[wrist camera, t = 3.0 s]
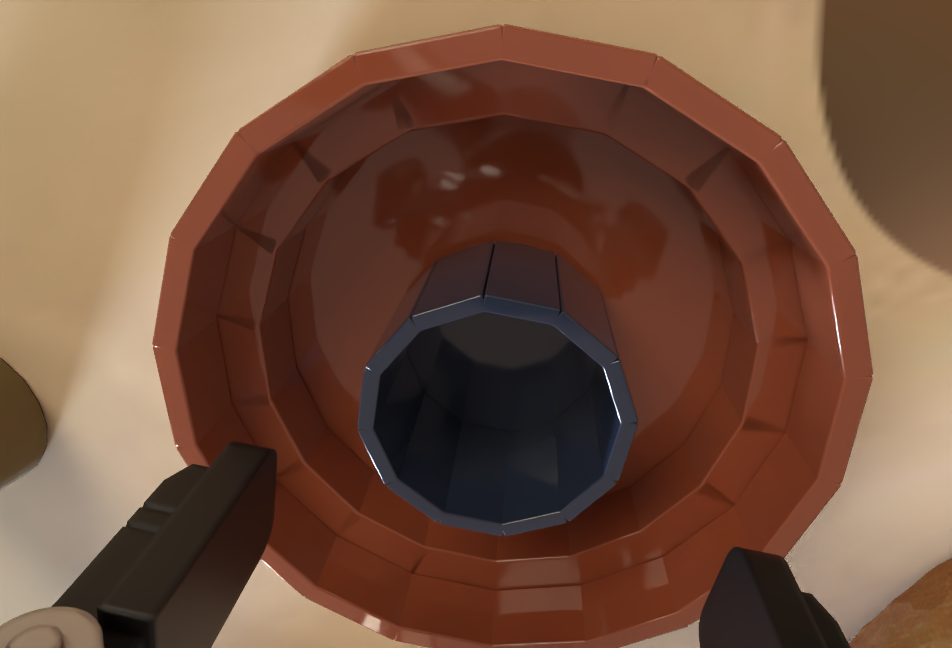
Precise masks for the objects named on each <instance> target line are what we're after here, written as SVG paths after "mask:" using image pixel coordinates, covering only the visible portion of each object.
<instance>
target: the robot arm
mask: <svg viewBox="0 0 952 648" xmlns="http://www.w3.org/2000/svg"><path fill="white" fill-rule="evenodd" d="M276 474H277V452H276V450H275V449H271V448H266V447H261V446H256V445H251V444H247V443H242V442H237V441H231V442H230V443H228V444H227V446H226V447H225V448H224V449H223V450H222V452H221V453H220V454H219V455H218V457H217V458H216V459H215V460H214V462H213V463H212V464H211V465H210V467H206V466H201V465H197V464H191V465H190V466H188V467H186V468H185V469H183V470H181V471H179V472H178V473H176V474H174V475H172V476H171V477H169V478H167V479H165V480H164V481H163V482H162V483H161V484H160V485H159V487H158V488H157V489H156V490H155V491H154V492H153V493H152V494H151V496H150V497H149V498H148V499H147V500H146V501H145V502H144V505H143V507H142V508H139V509H138V510H137V511H136V512H135V514H134V515H133V516H132V517H131V518H130V519H129V520H128V522H127V525H126V527H122V528H121V529H120V531H119V532H118V533H117V534H116V535H115V536H114V537H113V538H112V540H111V541H110V542H109V543H108V544H107V545H106V546H105V548H104V549H103V550H102V551H101V552H100V553H99V554H98V555H97V557H96V558H95V559H94V560H93V561H92V562H91V563H90V564H89V566H88V567H87V568H86V569H85V570H84V571H83V572H82V573H81V575H80V576H79V577H78V578H77V579H76V580H75V581H74V583H73V584H72V585H71V586H70V587H69V588H68V589H67V590H66V592H65V593H64V594H63V595H62V596H61V597H60V598H59V599H58V600H57V601H56V603H55V604H54V605H53V606H52V607H48V608H43V609H38V610H34V611H31V612H28V613H25V614H23V615H20V616H18V617H16V618H13V619H11V620H10V621H8V622H6V623H4V624H3V625H1V626H0V648H211V647H212V645H213V643H214V641H215V639H216V638H217V636H218V634H219V632H220V630H221V629H222V627H223V625H224V623H225V621H226V620H227V618H228V616H229V614H230V612H231V611H232V609H233V607H234V605H235V603H236V602H237V600H238V598H239V596H240V594H241V593H242V591H243V589H244V587H245V585H246V584H247V582H248V580H249V578H250V576H251V575H252V573H253V571H254V569H255V567H256V566H257V564H258V562H259V560H260V558H261V557H262V555H263V553H264V551H265V549H266V546H267V544H268V541H269V538H270V534H271V531H272V527H273V521H274V510H275V492H276ZM699 641H700V647H701V648H850V646H849V644H848V642H847V640H846V638H845V636H844V634H843V632H842V630H841V628H840V627H839V625H838V623H837V622H836V621H835V619H834V618H833V617H832V616H831V615H830V614H829V613H828V612H827V611H826V609H825V608H824V607H823V606H822V605H821V604H820V603H819V602H818V601H817V600H816V598H815V597H814V596H813V595H812V594H809V593H804V592H801V591H800V588H799V586H798V584H797V582H796V580H795V578H794V576H793V574H792V572H791V570H790V568H789V566H788V564H787V562H786V561H785V559H784V558H783V557H781V556H779V555H775V554H770V553H766V552H761V551H756V550H751V549H746V548H741V547H733V548H732V549H731V550H730V551H729V552H728V554H727V556H726V558H725V560H724V562H723V565H722V567H721V569H720V571H719V573H718V576H717V578H716V580H715V582H714V584H713V587H712V589H711V591H710V593H709V595H708V597H707V600H706V602H705V604H704V606H703V609H702V612H701V616H700V622H699Z"/></svg>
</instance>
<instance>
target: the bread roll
mask: <svg viewBox="0 0 952 648" xmlns="http://www.w3.org/2000/svg"><path fill="white" fill-rule="evenodd" d="M849 646H850V648H952V558H951V559H949V560H947V561H945V562H943V563H942V564H940V565H938V566H936V567H935V568H933V569H932V570H931V571H929V572H928V573H926V574H925V575H924V576H923V577H922V578H921V579H920V580H918V581H917V582H916V583H915V584H914V585H913V586H912V587H910V588H909V589H908V590H907V591H905V592H904V593H902V594H901V595H900V596H898V597H897V598H896V599H894V600H893V601H892V602H891V603H890V604H889V605H888V606H887V607H886V608H885V610H884V611H882V612H881V613H880V614H879V615H878V616H877V617H876V618H875V619H873V620H872V621H871V622H870V623H868V624H867V625H866V626H864V627H863V628H862V630H861V631H860V632H859V633H858V635H857V636H856V637H855V638H854V639H853V640H852V641H851V642H850V643H849Z"/></svg>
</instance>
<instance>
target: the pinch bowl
mask: <svg viewBox="0 0 952 648" xmlns="http://www.w3.org/2000/svg"><path fill="white" fill-rule="evenodd" d="M637 427H638V417H637V413H636V410H635V406H634V403H633V399H632V396H631V392H630V388H629V385H628V381H627V378H626V374H625V371H624V367H623V364H622V360H621V357H620V353H619V349H618V346H617V342H616V339H615V336H614V332H613V329H612V326H611V322H610V319H609V316H608V312H607V309H606V306H605V302H604V299H603V296H602V294H601V293H600V290H599V289H598V288H597V287H595V286H594V285H593V284H592V283H591V282H590V281H589V280H587V279H586V278H585V277H584V276H583V275H582V274H581V273H579V272H578V271H577V270H576V269H575V268H574V267H573V266H571V265H570V264H569V263H568V262H567V261H566V260H564V259H563V258H562V257H561V256H560V255H559V254H555V253H554V252H553V251H548V250H543V249H540V248H536V247H532V246H529V245H525V244H518V243H507V242H502V241H496V242H495V243H494V241H490V242H487V243H484V244H481V245H477V246H473V247H469V248H466V249H464V250H461V251H459V252H456V253H453V254H450V255H447V256H444V257H441V258H439V259H438V261H437V260H436V261H434V263H433V264H432V265H431V266H430V267H429V268H428V269H427V271H426V272H425V273H424V274H423V275H422V276H421V278H420V279H419V280H418V281H417V282H416V283H415V284H414V286H413V287H412V288H411V289H410V290H409V291H408V293H407V294H406V295H405V296H404V297H403V298H402V300H401V301H400V303H399V305H398V307H397V309H396V311H395V313H394V314H393V316H392V318H391V320H390V322H389V324H388V325H387V327H386V329H385V331H384V333H383V335H382V337H381V338H380V340H379V342H378V344H377V346H376V348H375V349H374V351H373V353H372V355H371V357H370V359H369V361H368V362H367V364H366V367H365V369H364V373H363V381H362V389H361V398H360V406H359V415H358V423H357V428H358V429H359V430H358V433H359V435H360V437H361V439H362V441H363V443H364V445H365V447H366V449H367V451H368V453H369V455H370V457H371V459H372V461H373V463H374V465H375V467H376V469H377V471H378V473H379V475H380V477H381V479H382V481H383V483H384V484H387V488H389V489H390V490H392V491H393V492H394V493H396V494H397V495H399V496H400V497H401V498H403V499H404V500H406V501H407V502H408V503H410V504H411V505H412V506H414V507H415V508H417V509H418V510H419V511H421V512H422V513H424V514H425V515H426V516H428V517H429V518H431V519H432V520H433V521H435V522H438V521H439V520H440V521H439V523H440V524H442V525H447V526H452V527H457V528H462V529H467V530H472V531H476V532H481V533H486V534H491V535H496V536H502V535H503V533H504V535H505V536H510V535H515V534H520V533H524V532H529V531H533V530H538V529H543V528H547V527H552V526H556V525H561V524H566V523H567V520H568V521H572V520H573V519H574V518H575V517H576V516H578V515H579V514H580V513H581V512H583V511H584V510H585V509H586V508H588V507H589V506H590V505H591V504H593V503H594V502H595V501H596V500H597V499H599V498H600V497H601V496H602V495H604V494H605V493H606V492H607V491H609V490H610V489H611V488H612V487H614V486H615V485H616V484H617V481H619V480H620V477H621V474H622V471H623V468H624V465H625V462H626V459H627V456H628V453H629V451H630V448H631V445H632V442H633V439H634V436H635V433H636V430H637Z"/></svg>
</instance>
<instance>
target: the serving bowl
mask: <svg viewBox="0 0 952 648" xmlns="http://www.w3.org/2000/svg"><path fill="white" fill-rule="evenodd" d="M490 241H494V243H495V242H496V241H502V242H507V243H518V244H525V245H529V246H532V247H536V248H540V249H543V250H548V251H553V252H554V253H555V254H559V255H560V256H561V257H562V258H563V259H564V260H566V261H567V262H568V263H569V264H570V265H571V266H573V267H574V268H575V269H576V270H577V271H578V272H579V273H581V274H582V275H583V276H584V277H585V278H586V279H587V280H589V281H590V282H591V283H592V284H593V285H594V286H595V287H597V288H598V289H599V290H600V293H601V294H602V296H603V299H604V302H605V306H606V309H607V312H608V316H609V319H610V322H611V326H612V329H613V332H614V336H615V339H616V342H617V346H618V349H619V353H620V357H621V360H622V364H623V367H624V371H625V374H626V378H627V381H628V385H629V388H630V392H631V396H632V399H633V403H634V406H635V410H636V413H637V417H638V427H637V430H636V433H635V436H634V439H633V442H632V445H631V448H630V451H629V453H628V456H627V459H626V462H625V465H624V468H623V471H622V474H621V477H620V480H619V481H617V484H616V485H615V486H614V487H612V488H611V489H610V490H609V491H607V492H606V493H605V494H604V495H602V496H601V497H600V498H599V499H597V500H596V501H595V502H594V503H593V504H591V505H590V506H589V507H588V508H586V509H585V510H584V511H583V512H581V513H580V514H579V515H578V516H576V517H575V518H574V519H573V520H572V521H568V520H567V523H566V524H561V525H556V526H552V527H547V528H543V529H538V530H533V531H529V532H524V533H520V534H515V535H510V536H505V535H504V533H503V535H502V536H496V535H491V534H486V533H481V532H476V531H472V530H467V529H462V528H457V527H452V526H447V525H442V524H440V523H439V521H440V520H439V521H438V522H435V521H433V520H432V519H431V518H429V517H428V516H426V515H425V514H424V513H422V512H421V511H419V510H418V509H417V508H415V507H414V506H412V505H411V504H410V503H408V502H407V501H406V500H404V499H403V498H401V497H400V496H399V495H397V494H396V493H394V492H393V491H392V490H390V489H389V488H387V484H384V483H383V481H382V479H381V477H380V475H379V473H378V471H377V469H376V467H375V465H374V463H373V461H372V459H371V457H370V455H369V453H368V451H367V449H366V447H365V445H364V443H363V441H362V439H361V437H360V435H359V433H358V430H359V429H358V428H357V423H358V415H359V406H360V398H361V389H362V381H363V373H364V369H365V367H366V364H367V362H368V361H369V359H370V357H371V355H372V353H373V351H374V349H375V348H376V346H377V344H378V342H379V340H380V338H381V337H382V335H383V333H384V331H385V329H386V327H387V325H388V324H389V322H390V320H391V318H392V316H393V314H394V313H395V311H396V309H397V307H398V305H399V303H400V301H401V300H402V298H403V297H404V296H405V295H406V294H407V293H408V291H409V290H410V289H411V288H412V287H413V286H414V284H415V283H416V282H417V281H418V280H419V279H420V278H421V276H422V275H423V274H424V273H425V272H426V271H427V269H428V268H429V267H430V266H431V265H432V264H433V263H434V261H436V260H437V261H438V259H439V258H441V257H444V256H447V255H450V254H453V253H456V252H459V251H461V250H464V249H466V248H469V247H473V246H477V245H481V244H484V243H487V242H490ZM855 254H856V253H855V250H854V248H853V246H852V245H851V243H850V242H849V240H848V239H847V237H846V235H845V234H844V232H843V231H842V229H841V228H840V226H839V224H838V223H837V221H836V220H835V218H834V217H833V215H832V213H831V212H830V210H829V209H828V207H827V206H826V204H825V202H824V201H823V199H822V198H821V196H820V195H819V193H818V191H817V190H816V188H815V187H814V185H813V184H812V182H811V180H810V179H809V177H808V176H807V174H806V173H805V171H804V169H803V168H802V166H801V165H800V163H799V162H798V160H797V158H796V157H795V155H794V154H793V152H792V150H791V149H790V147H789V146H788V144H787V143H786V141H784V140H782V138H781V136H780V135H778V134H777V133H775V132H774V131H772V130H771V129H769V128H768V127H766V126H765V125H763V124H762V123H760V122H759V121H757V120H756V119H754V118H753V117H751V116H750V115H748V114H747V113H745V112H744V111H742V110H741V109H739V108H738V107H736V106H735V105H733V104H732V103H730V102H729V101H727V100H726V99H724V98H723V97H721V96H720V95H718V94H717V93H715V92H714V91H712V90H711V89H709V88H708V87H706V86H705V85H703V84H702V83H700V82H699V81H697V80H696V79H694V78H693V77H691V76H690V75H688V74H687V73H685V72H684V71H682V70H681V69H679V68H678V67H676V66H675V65H673V64H672V63H670V62H669V61H667V60H666V59H664V58H663V57H661V56H657V55H656V54H655V53H650V52H644V51H639V50H634V49H629V48H624V47H619V46H614V45H609V44H604V43H599V42H594V41H589V40H583V39H578V38H573V37H568V36H563V35H558V34H553V33H548V32H543V31H538V30H533V29H527V28H522V27H517V26H512V25H507V24H505V25H503V26H502V25H494V26H489V27H484V28H479V29H473V30H468V31H463V32H458V33H453V34H448V35H443V36H438V37H432V38H427V39H422V40H417V41H412V42H407V43H402V44H397V45H391V46H386V47H381V48H376V49H371V50H366V51H361V52H356V53H355V54H354V55H349V56H348V57H346V58H345V59H343V60H342V61H340V62H339V63H337V64H336V65H334V66H333V67H331V68H330V69H328V70H327V71H325V72H324V73H322V74H321V75H319V76H318V77H316V78H315V79H313V80H312V81H310V82H309V83H307V84H306V85H304V86H303V87H301V88H300V89H298V90H297V91H295V92H294V93H292V94H291V95H289V96H288V97H286V98H285V99H283V100H282V101H280V102H279V103H277V104H276V105H274V106H273V107H271V108H270V109H268V110H267V111H265V112H264V113H262V114H261V115H259V116H258V117H256V118H255V119H253V120H252V121H250V122H249V123H247V124H246V125H244V126H243V127H241V128H240V129H239V131H238V132H236V133H235V134H234V135H233V137H232V139H231V140H230V142H229V143H228V145H227V146H226V148H225V150H224V151H223V153H222V154H221V156H220V157H219V159H218V160H217V162H216V164H215V165H214V167H213V168H212V170H211V171H210V173H209V175H208V176H207V178H206V179H205V181H204V182H203V184H202V185H201V187H200V189H199V190H198V192H197V193H196V195H195V196H194V198H193V200H192V201H191V203H190V204H189V206H188V207H187V209H186V210H185V212H184V214H183V215H182V217H181V218H180V220H179V221H178V223H177V224H176V226H175V228H174V229H173V231H172V232H171V236H170V238H169V244H168V250H167V256H166V263H165V269H164V275H163V281H162V288H161V294H160V300H159V306H158V313H157V319H156V325H155V331H154V338H153V345H154V346H153V350H154V354H155V359H156V363H157V367H158V372H159V376H160V381H161V385H162V389H163V394H164V398H165V402H166V407H167V411H168V416H169V420H170V424H171V429H172V433H173V438H174V442H175V445H176V446H177V450H178V452H179V453H180V455H181V456H182V458H183V460H184V461H185V463H186V464H187V466H190V465H191V464H197V465H201V466H206V467H210V465H211V464H212V463H213V462H214V460H215V459H216V458H217V457H218V455H219V454H220V453H221V452H222V450H223V449H224V448H225V447H226V446H227V444H228V443H230V442H231V441H237V442H242V443H247V444H251V445H256V446H261V447H266V448H271V449H275V450H276V452H277V474H276V492H275V510H274V521H273V527H272V531H271V534H270V538H269V541H268V544H267V546H266V549H265V551H264V553H263V555H262V557H261V558H260V559H261V560H262V561H263V562H264V563H265V564H266V565H268V566H269V567H270V568H271V569H272V570H273V571H274V572H276V573H277V574H278V575H279V576H280V577H281V578H283V579H284V580H285V581H286V582H287V583H288V584H290V585H291V586H292V587H293V588H294V589H295V590H296V591H298V592H299V593H300V594H301V595H302V596H305V598H306V599H309V600H311V601H313V602H315V603H317V604H319V605H321V606H323V607H325V608H327V609H329V610H331V611H333V612H336V613H338V614H340V615H342V616H344V617H346V618H348V619H350V620H352V621H354V622H356V623H358V624H360V625H363V626H365V627H367V628H369V629H371V630H373V631H375V632H377V633H379V634H381V635H383V636H385V637H387V638H389V639H392V640H393V639H395V640H396V641H400V642H404V643H409V644H414V645H419V646H424V647H429V648H620V647H623V646H626V645H629V644H633V643H636V642H639V641H642V640H646V639H649V638H652V637H655V636H659V635H662V634H665V633H668V632H672V631H675V630H678V629H681V628H685V627H687V626H688V625H691V624H692V623H694V622H695V621H697V620H698V619H700V616H701V612H702V609H703V606H704V604H705V602H706V600H707V597H708V595H709V593H710V591H711V589H712V587H713V584H714V582H715V580H716V578H717V576H718V573H719V571H720V569H721V567H722V565H723V562H724V560H725V558H726V556H727V554H728V552H729V551H730V550H731V549H732V548H733V547H741V548H746V549H751V550H756V551H761V552H766V553H770V554H775V555H779V556H781V557H783V558H785V556H786V555H787V554H788V552H789V551H790V550H791V549H792V547H793V546H794V545H795V543H796V542H797V541H798V540H799V538H800V537H801V536H802V535H803V533H804V532H805V531H806V529H807V528H808V527H809V526H810V524H811V523H812V522H813V520H814V519H815V518H816V517H817V515H818V514H819V513H820V511H821V510H822V509H823V508H824V506H825V505H826V504H827V503H828V501H829V500H830V499H831V497H832V496H833V495H834V494H835V492H836V491H837V490H838V488H839V487H840V485H841V484H840V483H842V481H843V477H844V474H845V471H846V467H847V464H848V460H849V457H850V454H851V450H852V447H853V443H854V440H855V437H856V433H857V430H858V426H859V423H860V420H861V416H862V413H863V409H864V406H865V403H866V399H867V396H868V393H869V389H870V386H871V382H872V375H873V370H872V362H871V355H870V347H869V340H868V332H867V325H866V318H865V310H864V303H863V295H862V288H861V280H860V273H859V265H858V258H857V256H856V255H855Z"/></svg>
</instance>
